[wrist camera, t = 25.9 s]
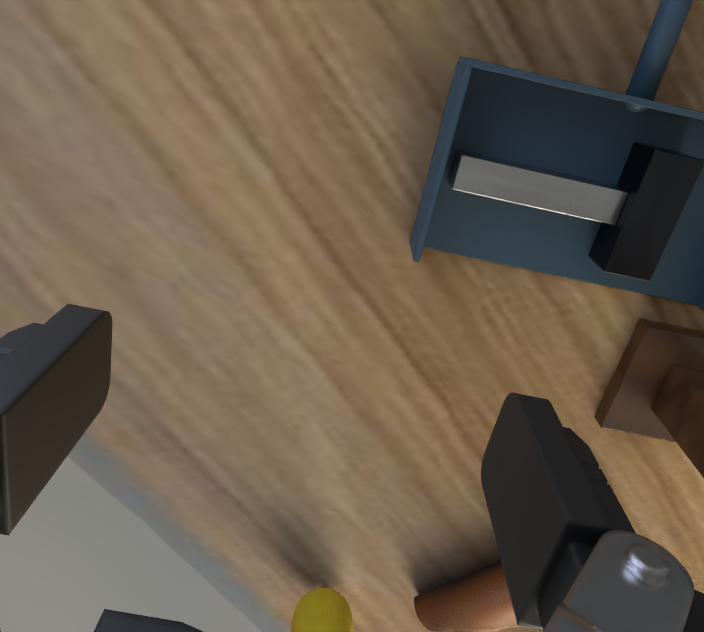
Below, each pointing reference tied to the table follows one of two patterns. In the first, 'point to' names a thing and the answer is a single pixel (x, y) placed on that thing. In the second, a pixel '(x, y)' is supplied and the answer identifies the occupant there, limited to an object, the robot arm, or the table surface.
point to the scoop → (562, 166)
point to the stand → (660, 388)
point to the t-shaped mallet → (598, 200)
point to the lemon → (322, 612)
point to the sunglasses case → (469, 603)
